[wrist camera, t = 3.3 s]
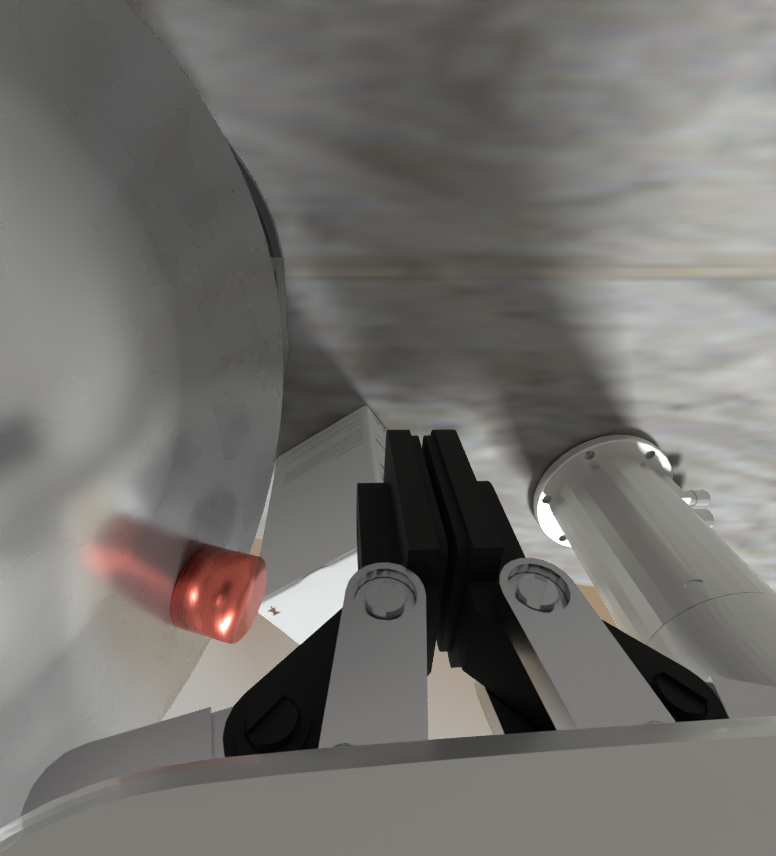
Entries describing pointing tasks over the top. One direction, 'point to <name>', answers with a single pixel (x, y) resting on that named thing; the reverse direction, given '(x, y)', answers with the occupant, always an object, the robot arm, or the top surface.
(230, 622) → the lid
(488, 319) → the top surface
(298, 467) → the supplement box
